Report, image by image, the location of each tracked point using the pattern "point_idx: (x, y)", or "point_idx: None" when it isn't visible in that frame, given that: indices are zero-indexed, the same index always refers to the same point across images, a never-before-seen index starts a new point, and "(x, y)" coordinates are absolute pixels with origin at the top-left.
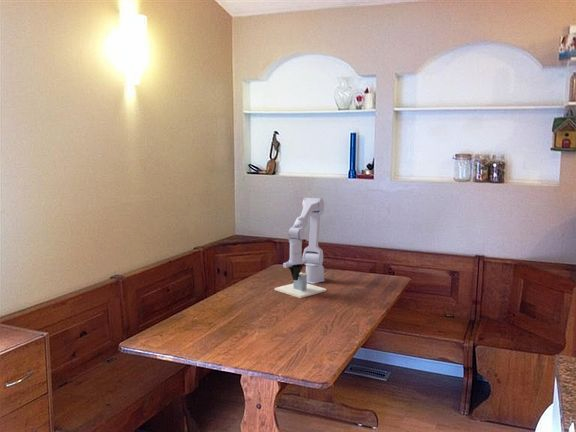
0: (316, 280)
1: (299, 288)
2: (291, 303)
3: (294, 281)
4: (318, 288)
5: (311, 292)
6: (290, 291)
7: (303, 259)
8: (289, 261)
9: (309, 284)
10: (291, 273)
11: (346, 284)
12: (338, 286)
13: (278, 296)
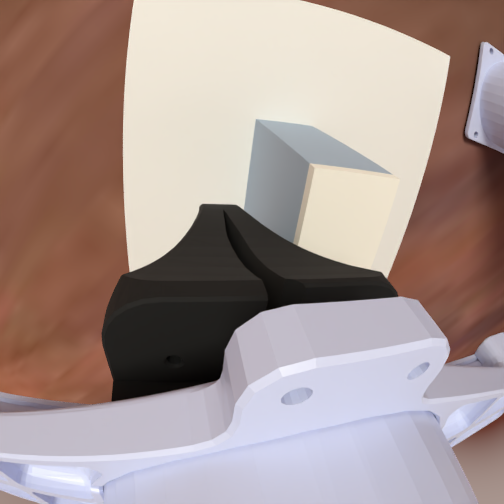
0: (497, 144)
1: (248, 201)
2: (36, 309)
3: (272, 149)
4: None
5: None
6: (156, 168)
7: (487, 418)
8: (104, 479)
9: (423, 153)
10: (183, 239)
11: (493, 263)
12: (465, 262)
13: (39, 150)
